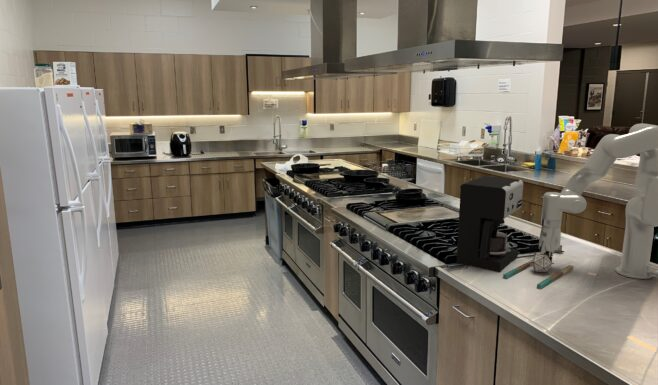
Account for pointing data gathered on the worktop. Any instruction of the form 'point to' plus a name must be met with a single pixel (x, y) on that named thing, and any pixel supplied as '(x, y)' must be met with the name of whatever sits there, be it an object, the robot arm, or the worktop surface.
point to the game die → (541, 263)
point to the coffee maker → (487, 221)
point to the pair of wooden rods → (544, 282)
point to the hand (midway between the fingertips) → (546, 265)
